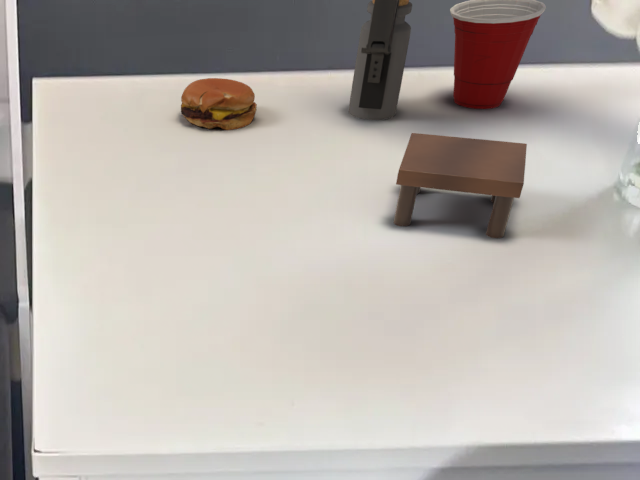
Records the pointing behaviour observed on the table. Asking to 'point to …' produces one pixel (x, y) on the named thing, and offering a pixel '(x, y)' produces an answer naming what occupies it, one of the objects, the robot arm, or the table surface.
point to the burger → (218, 103)
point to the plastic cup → (490, 47)
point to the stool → (462, 173)
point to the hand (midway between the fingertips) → (374, 99)
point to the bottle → (394, 71)
